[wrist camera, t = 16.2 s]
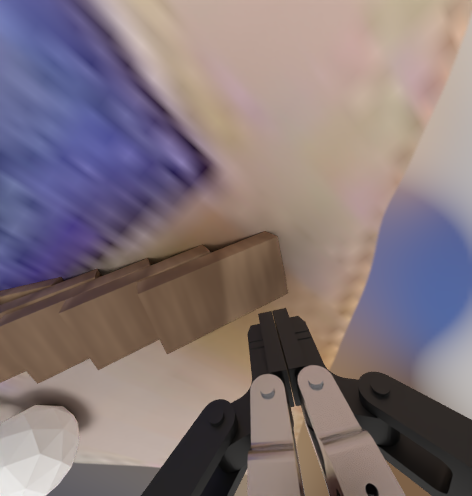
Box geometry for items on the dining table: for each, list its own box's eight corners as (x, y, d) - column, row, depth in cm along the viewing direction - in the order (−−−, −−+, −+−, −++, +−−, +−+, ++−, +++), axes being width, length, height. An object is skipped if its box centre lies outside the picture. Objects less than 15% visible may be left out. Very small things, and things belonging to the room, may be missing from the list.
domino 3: (170, 306, 21) (45, 365, 18) (147, 257, 19) (3, 315, 16) (173, 317, 19) (37, 383, 16) (149, 265, 17) (-10, 330, 14)
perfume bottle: (72, 485, 26) (-37, 451, 25) (107, 404, 28) (7, 371, 27) (16, 562, 18) (-141, 516, 17) (70, 443, 20) (-69, 398, 19)
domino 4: (219, 295, 21) (100, 352, 18) (202, 244, 19) (65, 299, 16) (227, 305, 19) (98, 370, 16) (209, 250, 17) (58, 313, 14)
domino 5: (275, 283, 20) (163, 338, 17) (265, 231, 18) (136, 282, 16) (288, 293, 19) (167, 354, 16) (277, 236, 17) (137, 294, 14)
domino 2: (124, 315, 21) (-5, 372, 18) (97, 268, 19) (-51, 324, 17) (123, 326, 20) (-18, 390, 17) (94, 277, 18) (-71, 340, 15)
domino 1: (92, 318, 22) (-5, 339, 22) (65, 273, 20) (-40, 298, 21) (81, 333, 20) (-23, 355, 21) (50, 285, 18) (-64, 311, 19)
